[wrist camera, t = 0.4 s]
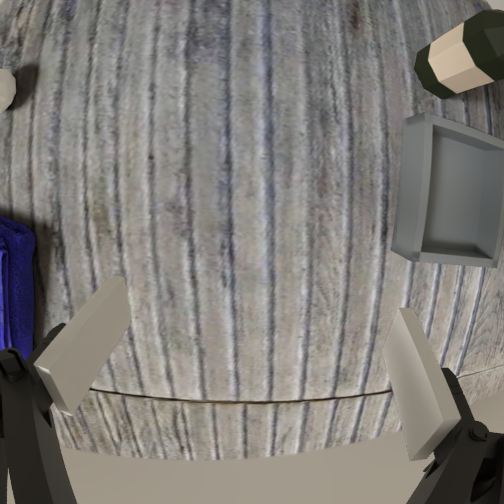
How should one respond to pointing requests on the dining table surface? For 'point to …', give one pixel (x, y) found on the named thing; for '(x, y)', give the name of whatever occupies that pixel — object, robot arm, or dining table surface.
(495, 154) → the tote
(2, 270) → the towel
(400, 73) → the dining table surface
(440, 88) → the wine bottle
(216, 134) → the dining table surface
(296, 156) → the dining table surface
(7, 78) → the ball
